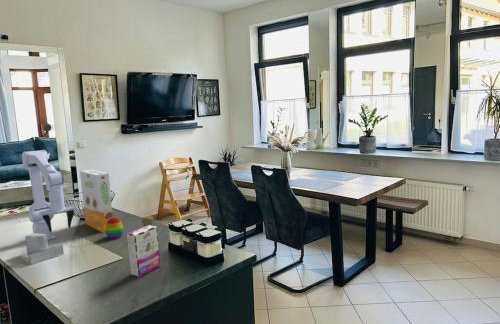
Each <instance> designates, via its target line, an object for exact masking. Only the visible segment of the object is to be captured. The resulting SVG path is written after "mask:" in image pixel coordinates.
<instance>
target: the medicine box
mask: <svg viewBox="0 0 500 324" xmlns="http://www.w3.org/2000/svg"><path fill="white" fill-rule="evenodd" d="M24 238H25V239H24V240H25V245H26V251H27V252H26V254H28V255H29V254H32V253H36V252H39V251H42V250H46V249H49V244H48V243H49V242H48V240H47V236H46V234H37V233H33V232H32V233H30V234H28V235H25V237H24Z"/></svg>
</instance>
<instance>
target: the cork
mask: <svg viewBox="0 0 500 324" xmlns="http://www.w3.org/2000/svg"><path fill="white" fill-rule="evenodd" d="M141 219H142V220H141V221H142V224H143V227H145V226H148V225H151V226H154V217H153V216H150V215H147V216H143V217H142V218H141Z"/></svg>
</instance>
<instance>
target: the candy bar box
mask: <svg viewBox="0 0 500 324" xmlns="http://www.w3.org/2000/svg"><path fill="white" fill-rule="evenodd" d="M126 240H127V250H128V258H129V259H128V260H129V267H130V275H131V276H134V277H137V278H140V277H143V276H144V275H146V274H148V273H150V272H151V271H154V270H155V269H157V268H159V267H161V257H160V255H161V254H160V246H159V245H160V244H159V236H158V226H156V225H153V226H151V225H148V226H145V227H144V226H143V227H140V228H138V229H136V230H132V231H129V232H128V233H126Z"/></svg>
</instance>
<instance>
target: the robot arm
mask: <svg viewBox="0 0 500 324" xmlns="http://www.w3.org/2000/svg"><path fill="white" fill-rule="evenodd" d="M21 160H22V166H23V169H24V170H27V171H28V174H29V175H28V176H29V181H30V186H31V191H32V198H33V201H34V202H33V203H32V204H31V205H30V206H29V207H28V218H29V222H31V223H32V227H31V228H32V234H33V233H37V234H46V236H47V241H50V240H53V239H56V238H57V236H55V235H53V229H52V220H53V218H54V217H55V215H58V214H64V213H66V217H67V227H68V229H71V227H72V221H73V218H74V216H75V212H76V211H77V207H76V205H73V206H72V205H71V206H65V205H66V204H65V196H64V195H65V194H64V188H63V187H64V186H63V185H64V184H65V177H64V174H63V172H62V171H57V169H56V168H55V167H54V165H53V164H52V163H49V162H48V161H49V155H48V151H46V150H45V149H42V150H30V151H23V152H22V154H21ZM42 176H43V178H44V183H45V186H46V190H47V193H48V199H49V200H48V201H46V198H45V192H44V187H43V181H42Z"/></svg>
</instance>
